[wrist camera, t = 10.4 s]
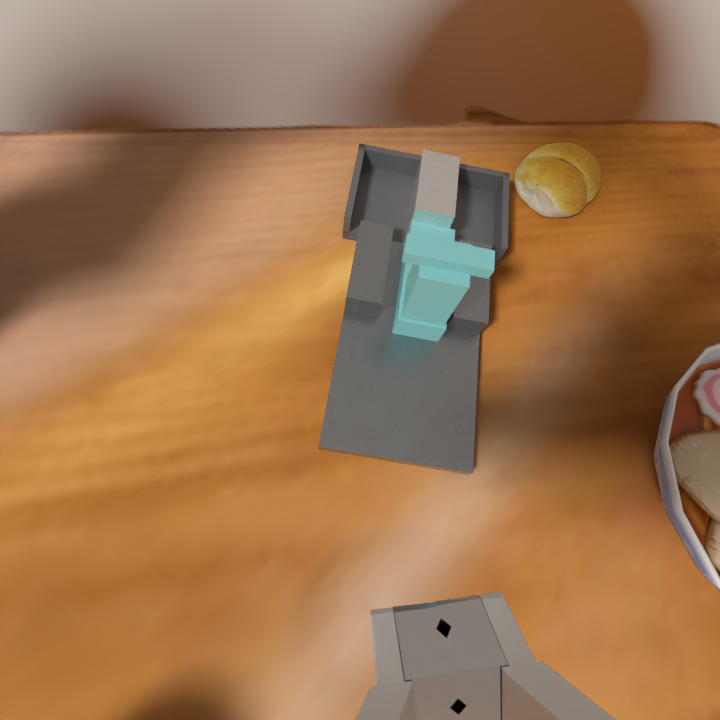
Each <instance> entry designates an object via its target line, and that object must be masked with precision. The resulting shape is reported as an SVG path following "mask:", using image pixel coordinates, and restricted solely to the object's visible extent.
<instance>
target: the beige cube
mask: <svg viewBox="0 0 720 720" xmlns="http://www.w3.org/2000/svg"><path fill="white" fill-rule="evenodd" d="M457 189H458V186H455V185H450V184H445V183H440V182H435V181H430V180H425V179H420V178H419V181H418V184H417V187H416V191H415V194H414V197H413V200H412V204H411V207H410V211H409V218H408V225H407V232H406V236H407V233H408V230H409V227H410V224H411V221H414V222H419V223H424V224H429V225H434V226H439V227H444V228H449V229H450V227H451V224H452V222H453V220H454V218H455V210H456V199H457Z"/></svg>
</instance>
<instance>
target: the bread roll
mask: <svg viewBox="0 0 720 720" xmlns="http://www.w3.org/2000/svg"><path fill="white" fill-rule="evenodd" d="M601 180H602V174H601V169H600V166H599V164H598V162H597V160H596V159H595V157H594V156H593V155H592V154H591V153H590V152H589V151H588V150H586V149H585V148H583V147H581V146H579V145H577V144H573V143H552V144H547V145H544V146H542V147H540V148H538V149H536V150H534V151H533V152H531V153H530V154H529V155H528V156H526V158H525V159H524V160H523V161H522V162H521V164H520V165H519V166H518V168H517V170H516V173H515V178H514V184H515V189H516V191H517V193H518V195H519V197H520V198H521V199H522V200H523V201H524V202H525V203H527V205H528V206H529V207H530V208H532V209H533V210H534V211H536V212H537V213H539V214H541V215H543V216H545V217H549V218H562V217H569V216H573V215H575V214H577V213H579V212H580V211H582V210H583V209H584V207H585V205H586V203H588V202H590V201H591V200H592V199H594V198H595V197H596V196H597V194H598V193H599V191H600V188H601Z"/></svg>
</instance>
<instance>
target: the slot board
mask: <svg viewBox="0 0 720 720" xmlns="http://www.w3.org/2000/svg"><path fill="white" fill-rule="evenodd" d="M393 229H394V226H390V225H384V224H379V223H374V222H369V221H364V220H361V223H360V228H359V233H358V238H357V244H356V249H355V254H354V260H353V265H352V270H351V275H350V281H349V286H348V291H347V297H346V304H345V310H344V316H343V321H342V326H341V332H340V337H339V342H338V347H337V353H336V358H335V363H334V369H333V374H332V379H331V385H330V390H329V395H328V400H327V406H326V411H325V416H324V422H323V427H322V432H321V438H320V443H319V449H322V450H328V451H334V452H339V453H345V454H351V455H357V456H363V457H369V458H375V459H380V460H386V461H392V462H398V463H404V464H410V465H416V466H422V467H427V468H433V469H439V470H445V471H451V472H457V473H463V474H472V473H473V461H474V441H475V420H476V399H477V379H478V358H479V338H480V333H481V332H482V330H483V329H484V328H485V327H486V326H487V325H488V324H489V302H490V277H491V276H490V277H489V278H488V279H487V278H482V277H477V276H472V275H470V287H469V289H468V290H467V292H466V293H465V295H464V296H463V298H462V299H461V301H460V302H459V304H458V305H457V307H456V308H455V310H454V311H453V313H452V314H451V316H450V317H449V319H448V320H447V328H446V331H445V332H444V333H443V335H442V336H441V338H440V339H439V341H438V342H437V341H431V340H426V339H421V338H416V337H410V336H405V335H400V334H394V333H392V331H393V324H394V317H395V310H396V303H397V296H398V289H399V283H400V276H401V269H402V256H403V249H404V243H401V242H396V241H392V236H393ZM458 242H462V243H467V244H472V246H475V247H480V248H485V249H490V250H492V245H488V244H483V243H478V242H473V241H468V240H462V239H459V241H458Z"/></svg>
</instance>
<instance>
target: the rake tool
mask: <svg viewBox="0 0 720 720" xmlns="http://www.w3.org/2000/svg"><path fill="white" fill-rule="evenodd" d="M454 240H455V230H454V229H449V228H444V227H439V226H434V225H429V224H424V223H419V222H414V221H411V224H410V227H409V230H408V233H407V236H406V239H405V242H404V249H403V256H402V269H401V276H400V283H399V289H398V296H397V303H396V310H395V317H394V324H393V331H392V333H394V334H400V335H405V336H410V337H416V338H421V339H426V340H431V341H437V342H438V341H439V339H440V338H441V336H442V335H443V333H444V332H445V331H446V328H447V320H448V319H449V317H450V316H451V314H452V313H453V311H454V310H455V308H456V307H457V305H458V304H459V302H460V301H461V299H462V298H463V296H464V295H465V293H466V292H467V290H468V289H469V287H470V275H472V276H477V277H482V278H487V279H488V278H489V277H490V276H491V274H492V273H493V271H494V264H495V250H490V249H485V248H480V247H475V246H472V244H467V243H462V242H457V241H454Z"/></svg>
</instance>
